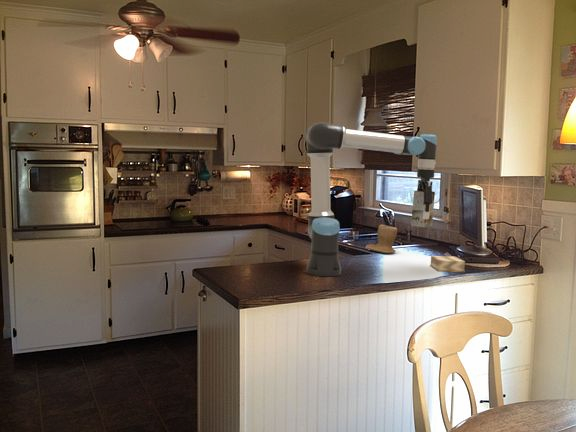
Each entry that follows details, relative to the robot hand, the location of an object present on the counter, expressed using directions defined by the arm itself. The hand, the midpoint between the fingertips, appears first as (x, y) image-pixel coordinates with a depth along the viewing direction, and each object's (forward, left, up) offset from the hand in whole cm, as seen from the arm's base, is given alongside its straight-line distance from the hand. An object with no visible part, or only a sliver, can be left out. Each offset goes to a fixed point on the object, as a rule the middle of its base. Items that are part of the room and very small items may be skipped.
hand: (422, 217), depth 253 cm
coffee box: (0, 0, -4) cm, 4 cm away
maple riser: (+14, +3, -24) cm, 28 cm away
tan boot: (-7, +44, -24) cm, 51 cm away
